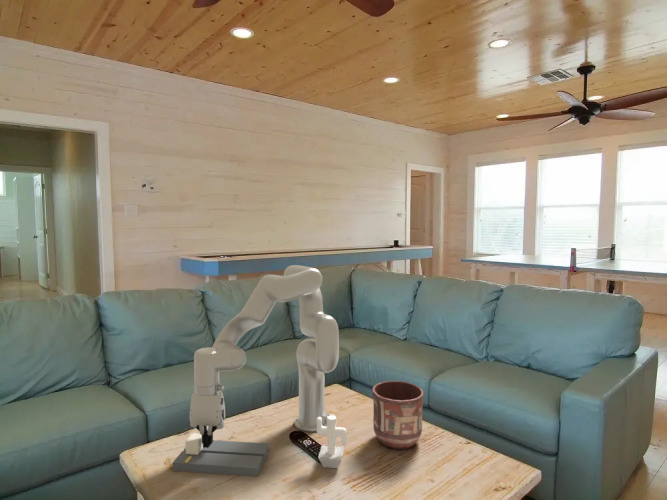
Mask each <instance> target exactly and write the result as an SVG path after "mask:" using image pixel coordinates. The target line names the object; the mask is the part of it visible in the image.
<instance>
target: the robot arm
mask: <svg viewBox="0 0 667 500" xmlns="http://www.w3.org/2000/svg"><path fill="white" fill-rule="evenodd" d="M322 283H323V275H322V273H321V271H319V270H318V269H317V268H314V267H311V266H305V265H297V264H294V265H293V264H291V265H289V266H287V267H286V268H285V270H284V272H283V275H277V274H266V275H263V277H261V278H260V279H259V281H258V283H257V285H256V286H255V288H254V290H253V291H252V293H251V294H250V297H249V298H248V300H247V301H246V303H245V304H244V306H243V308H242V310H241V311H240V312H239V313H238V314H236V315H235V316H234V317H233V318H232V319H231V320H229V322H228V321H227V323H226V324H225V326H223V327H222V329H221V330H220V332H219V334H218V336H217V337H216V339H215V340H214V342H213V345H212V347H211V346H210V347H208V346H207V347H201V348H198V349H197V350H196V351H194V355H193V379H194V381H193V382H194V383H193V386H194V387H193V389H194V391H193V392H192V394H191V398H190V406H189V407H190V408H189V422H190V425H189V426H190V428H194V429H197V431H198V432H199V434H201V435H202V443H203V448H205V447H206V448H209V446H210V445H211V444H212V443H213V440H214V433H215V431H216V430H222V429H223V428H225V422H224V420H225V419H226V404H225V399H224V394H223V391H224V388H225V385H223V384H221V382H220V372H231V371H232V372H233V371H238V370H239V369H241V368H243V366H244V365H245V363H246V361H247V354H246V352H245V351H244V350H243V349H242V348H241V347H239V346H238V345H237V344H238V343H239V340H240V339H241V338H242V337H243V336H244V334H246V333H248V331H250V330H252V329H255V328H258V327H261V326H262V325H264V324H265V323H266V321H267V319H268V318H269V316H270V313H271V312H272V311H273V308H274V306H275V305H276V303H277V302H278V303H282V304H283V303H287V302H291V301H292V302H293V301H295V300H298V301H299V329H300V332H301V333H302V334H303V335H304V336H306V337H309V338H305V339H304V340H302V341H300V343H299V344H298V345H297V348H296V362H297V368H298V416H297V417H296V418H294V426H295V427H296V428H297V429H298V430H300V431H303V432H317V418H318V417H321V418H322V426H328V423H327V417H328V416H329V415H335V414H334V413H327V409H326V408H325V383H326V382H325V374H328V373H331V372H333V371H334V370H335V369H336V367H337V366H338V364H339V363H338V362H339V360H340V359H339V358H340V357H339V356H340V335H339V334H340V333H339V331H340V330H339V325H338V323H337V320H336V319H335V318H334V317H333V316H331V315H329V314H326V313H324V304H323V295H322V291H321V286H322Z"/></svg>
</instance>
